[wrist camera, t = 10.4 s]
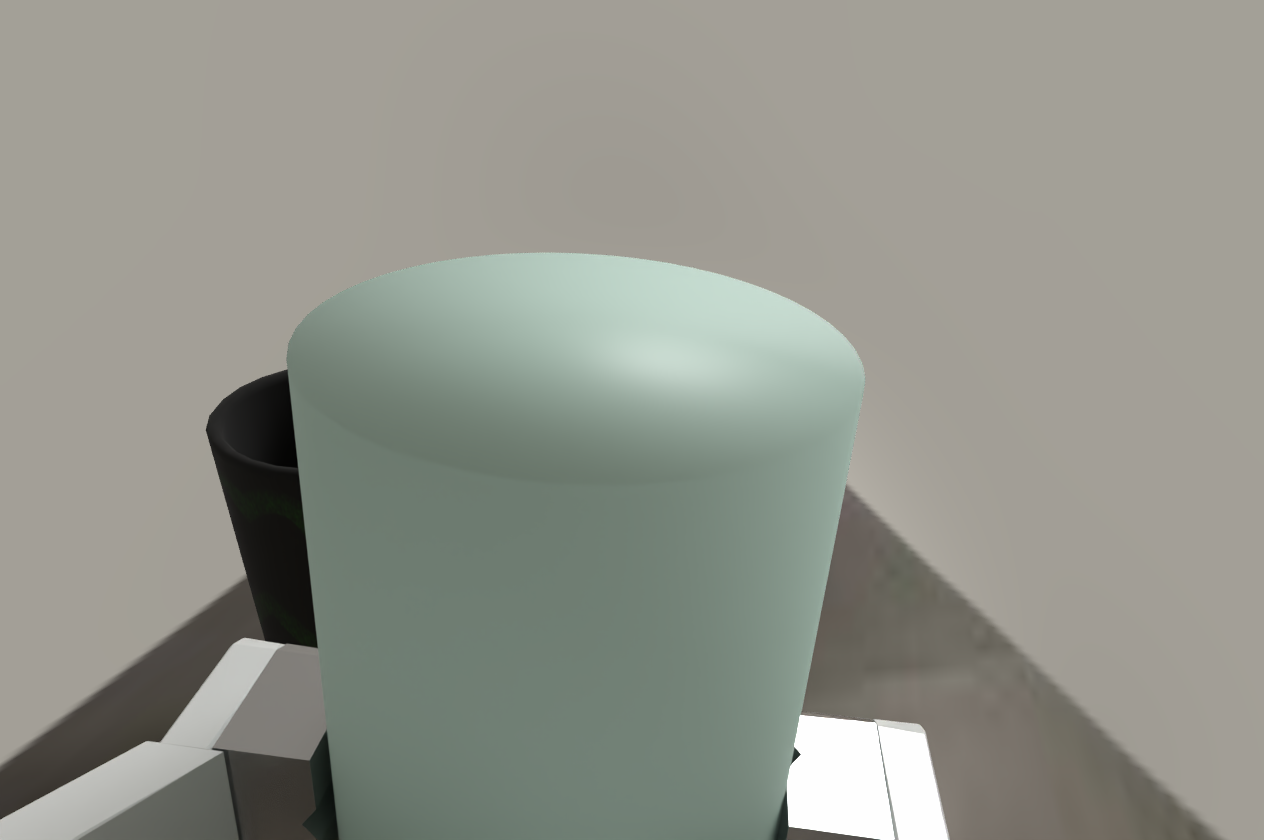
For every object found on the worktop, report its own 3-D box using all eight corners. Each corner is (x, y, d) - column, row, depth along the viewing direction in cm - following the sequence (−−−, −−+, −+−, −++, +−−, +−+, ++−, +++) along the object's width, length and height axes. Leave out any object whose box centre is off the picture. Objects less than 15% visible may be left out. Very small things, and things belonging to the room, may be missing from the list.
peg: (717, 1347, 11) (915, 516, 6) (319, 1296, 11) (168, 448, 6) (716, 961, 15) (831, 274, 10) (426, 929, 15) (389, 236, 10)
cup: (210, 716, 34) (151, 416, 29) (373, 609, 40) (350, 342, 34) (359, 823, 30) (325, 504, 25) (515, 688, 36) (515, 404, 31)
